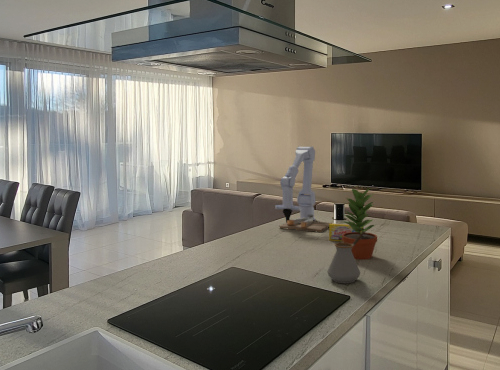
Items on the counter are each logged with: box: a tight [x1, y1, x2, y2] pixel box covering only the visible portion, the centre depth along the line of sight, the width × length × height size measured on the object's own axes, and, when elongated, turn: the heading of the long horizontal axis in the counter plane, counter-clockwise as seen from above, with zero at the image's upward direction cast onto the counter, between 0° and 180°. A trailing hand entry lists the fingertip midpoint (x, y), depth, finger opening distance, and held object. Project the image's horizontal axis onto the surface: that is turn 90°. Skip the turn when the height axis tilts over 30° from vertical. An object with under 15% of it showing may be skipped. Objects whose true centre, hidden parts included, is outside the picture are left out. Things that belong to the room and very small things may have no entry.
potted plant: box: [340, 186, 378, 261], centre depth 189 cm, size 15×15×30 cm
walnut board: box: [278, 220, 333, 233], centre depth 251 cm, size 19×24×2 cm
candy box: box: [328, 223, 365, 242], centre depth 217 cm, size 16×2×8 cm, turn 73°
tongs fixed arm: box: [301, 214, 315, 227], centre depth 251 cm, size 17×4×4 cm, turn 153°
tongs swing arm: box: [287, 217, 307, 225], centre depth 253 cm, size 13×2×2 cm, turn 125°
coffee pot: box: [327, 231, 368, 284], centre depth 164 cm, size 21×12×15 cm, turn 139°
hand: (287, 222), depth 252 cm, fingers closed
